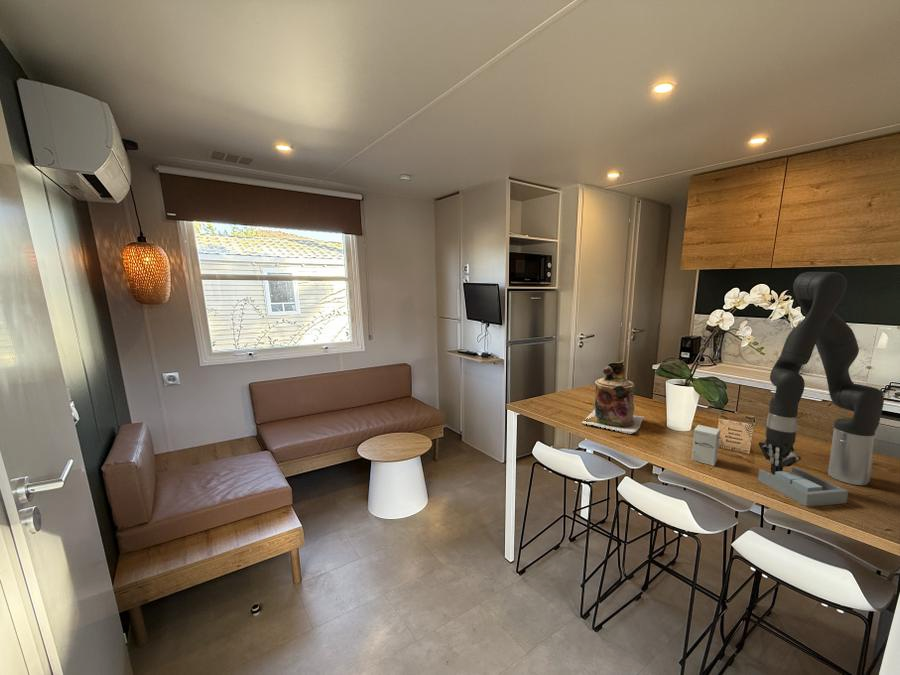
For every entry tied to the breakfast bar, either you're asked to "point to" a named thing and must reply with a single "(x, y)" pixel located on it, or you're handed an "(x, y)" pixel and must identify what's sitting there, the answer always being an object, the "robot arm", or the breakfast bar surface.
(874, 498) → the breakfast bar surface
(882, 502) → the breakfast bar surface
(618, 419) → the cookie jar
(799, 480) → the tile
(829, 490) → the tray
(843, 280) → the robot arm
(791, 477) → the tile
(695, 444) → the supplement box
